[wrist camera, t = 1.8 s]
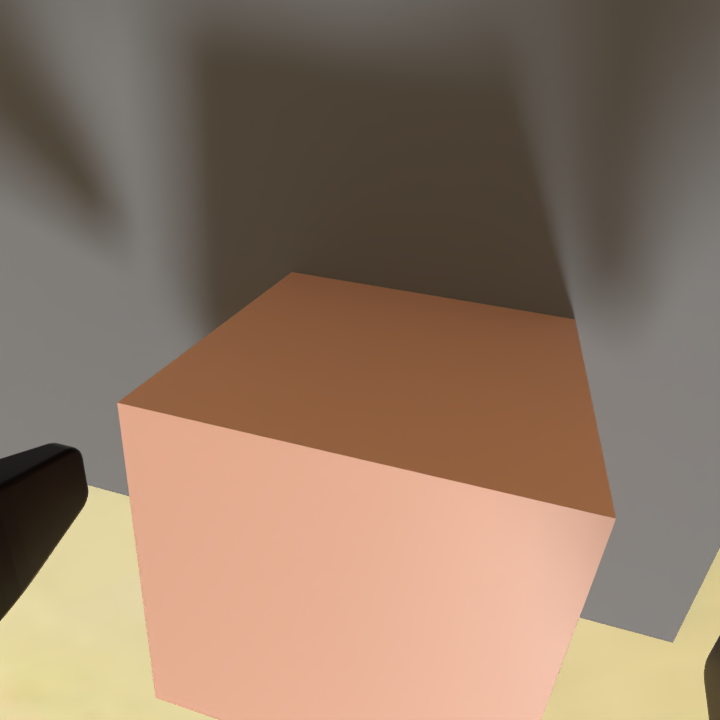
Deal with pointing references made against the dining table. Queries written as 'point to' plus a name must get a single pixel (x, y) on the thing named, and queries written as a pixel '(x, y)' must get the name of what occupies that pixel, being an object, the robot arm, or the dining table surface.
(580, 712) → the dining table surface
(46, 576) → the dining table surface
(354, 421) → the cube
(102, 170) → the placemat
